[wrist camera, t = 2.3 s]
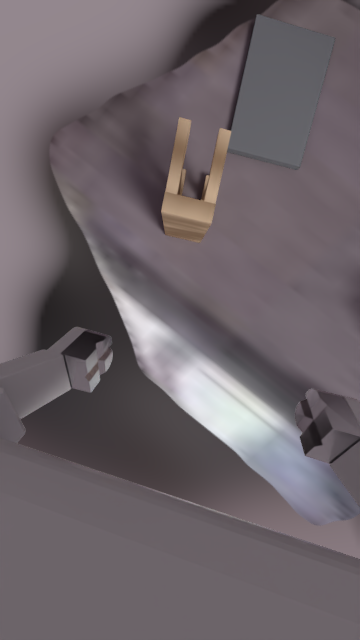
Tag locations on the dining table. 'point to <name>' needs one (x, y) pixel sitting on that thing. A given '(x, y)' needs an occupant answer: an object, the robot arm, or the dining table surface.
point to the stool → (184, 212)
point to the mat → (279, 92)
